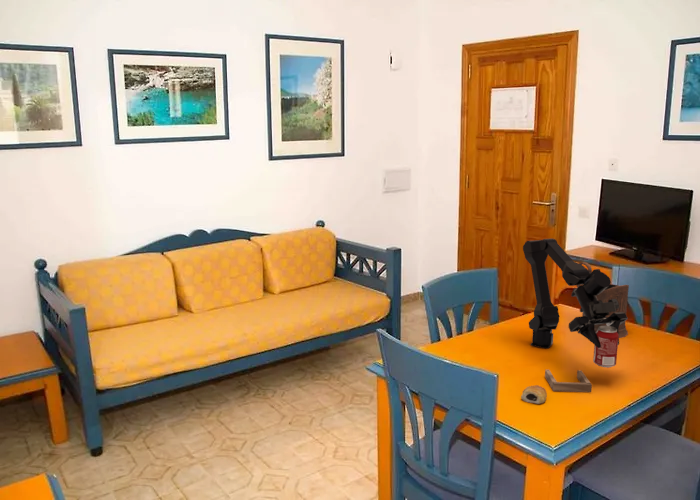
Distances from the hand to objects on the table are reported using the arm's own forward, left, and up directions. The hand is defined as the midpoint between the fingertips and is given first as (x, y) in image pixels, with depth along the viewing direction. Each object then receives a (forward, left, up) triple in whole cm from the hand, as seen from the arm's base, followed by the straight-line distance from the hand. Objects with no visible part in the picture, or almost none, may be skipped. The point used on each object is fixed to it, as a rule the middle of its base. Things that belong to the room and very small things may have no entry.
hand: (608, 346), depth 192 cm
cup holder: (-12, +53, -13) cm, 56 cm away
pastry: (-16, -23, -13) cm, 31 cm away
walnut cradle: (-10, -7, -12) cm, 17 cm away
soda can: (-1, +1, -7) cm, 7 cm away
